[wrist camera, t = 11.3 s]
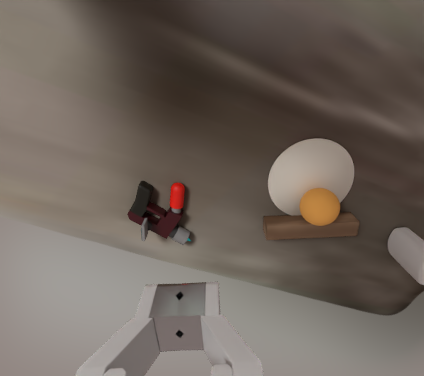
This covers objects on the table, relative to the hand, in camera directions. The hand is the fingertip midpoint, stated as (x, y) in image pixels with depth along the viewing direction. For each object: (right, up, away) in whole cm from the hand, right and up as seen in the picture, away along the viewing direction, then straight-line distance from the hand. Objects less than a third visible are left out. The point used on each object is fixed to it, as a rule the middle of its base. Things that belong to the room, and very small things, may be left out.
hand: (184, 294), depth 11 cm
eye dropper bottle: (+33, -4, +34) cm, 48 cm away
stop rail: (+17, -1, +32) cm, 37 cm away
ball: (+17, +2, +28) cm, 33 cm away
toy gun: (-5, +2, +32) cm, 33 cm away
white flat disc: (+16, +6, +29) cm, 34 cm away
